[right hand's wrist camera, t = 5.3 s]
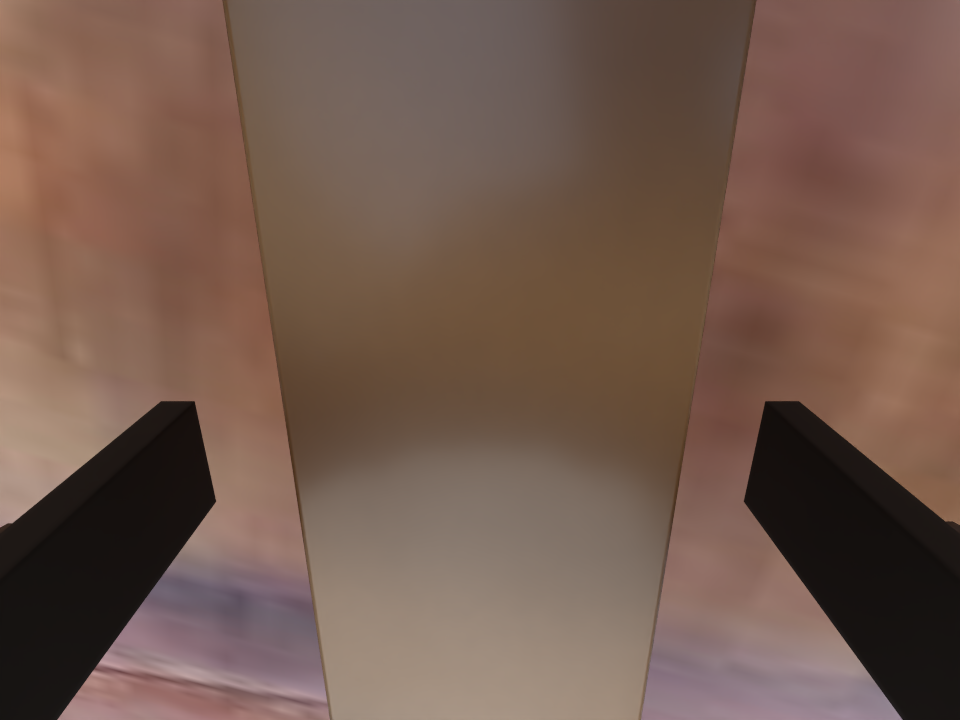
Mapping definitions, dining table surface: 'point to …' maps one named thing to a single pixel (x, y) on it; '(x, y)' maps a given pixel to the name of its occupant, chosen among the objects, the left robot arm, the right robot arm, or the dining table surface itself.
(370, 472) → the beam
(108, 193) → the dining table surface
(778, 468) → the right robot arm
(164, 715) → the dining table surface
